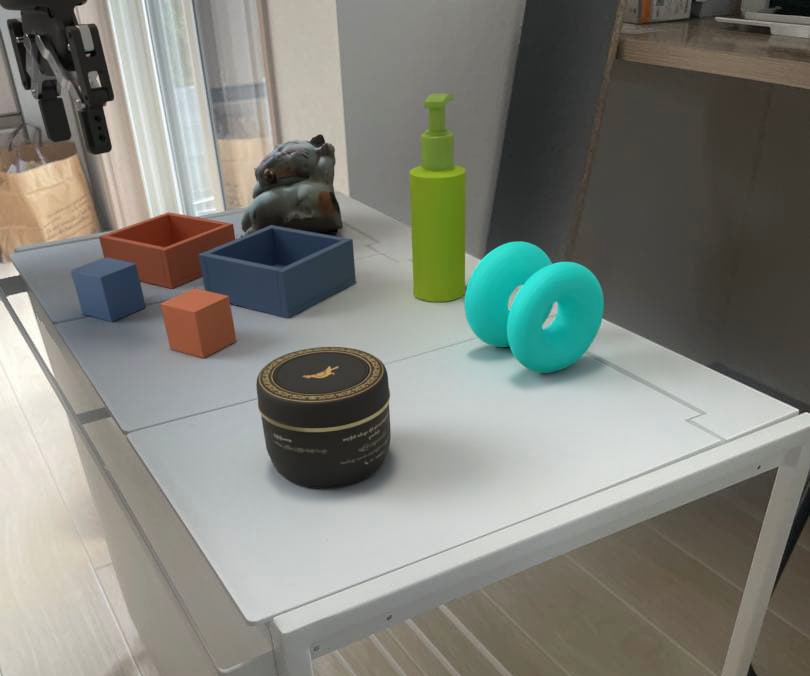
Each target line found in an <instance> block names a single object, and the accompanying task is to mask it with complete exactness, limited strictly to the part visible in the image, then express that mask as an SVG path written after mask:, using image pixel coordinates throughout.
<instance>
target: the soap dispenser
mask: <svg viewBox="0 0 810 676" xmlns="http://www.w3.org/2000/svg"><path fill="white" fill-rule="evenodd" d="M454 100H455V94H453V93H431V94H430V95H428V96H427V97H426V99H425V100H424V102H423V107H424V109H428V110H427V111H428V129H426V130H425V131H423V132H422V133H420V164H421V165H419V166H416V167H413V168H411V169H410V170H409V196H410V199H409V201H410V226H411V259H412V260H411V261H412V289H413V291H412V292H413V296H414V297H415V298H416V299H419V300H421V301H425V302H430V303H431V302H432V303H442V302H451V301H455V300H458V299H460V298H461V297H463V296H465V294H466V193H467V192H466V185H467V182H466V181H467V180H466V177H467V176H466V175H467V172H466V171H467V170H466V168H465V167H463V166H462V165H457V164H454V162H455V160H454V159H455V157H454V154H455V151H454V148H455V147H454V141H455V140H454V139H455V138H454V133H453V132H452V131H450V130H449V129H447V128H446V105H447V104H448V103H449V102H450V101H454Z"/></svg>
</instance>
